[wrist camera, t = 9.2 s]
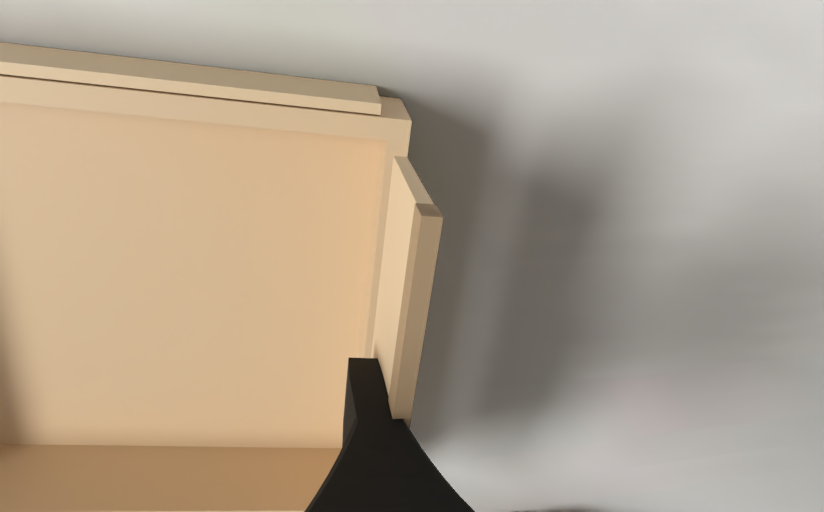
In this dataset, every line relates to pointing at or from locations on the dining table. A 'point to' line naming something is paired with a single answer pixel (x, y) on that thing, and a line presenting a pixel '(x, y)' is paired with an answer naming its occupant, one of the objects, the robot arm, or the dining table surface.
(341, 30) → the dining table surface
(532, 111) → the dining table surface
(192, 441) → the carton
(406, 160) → the flap
